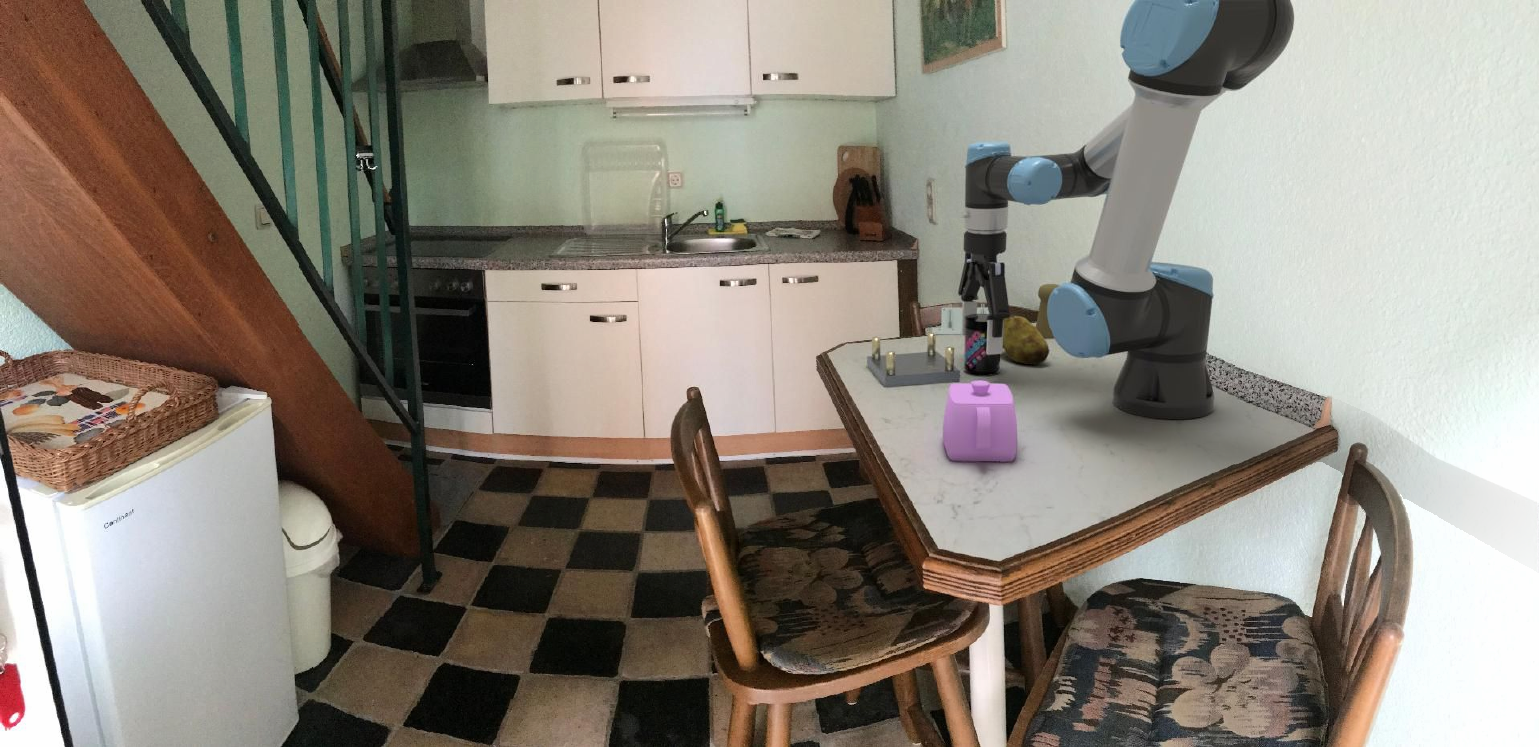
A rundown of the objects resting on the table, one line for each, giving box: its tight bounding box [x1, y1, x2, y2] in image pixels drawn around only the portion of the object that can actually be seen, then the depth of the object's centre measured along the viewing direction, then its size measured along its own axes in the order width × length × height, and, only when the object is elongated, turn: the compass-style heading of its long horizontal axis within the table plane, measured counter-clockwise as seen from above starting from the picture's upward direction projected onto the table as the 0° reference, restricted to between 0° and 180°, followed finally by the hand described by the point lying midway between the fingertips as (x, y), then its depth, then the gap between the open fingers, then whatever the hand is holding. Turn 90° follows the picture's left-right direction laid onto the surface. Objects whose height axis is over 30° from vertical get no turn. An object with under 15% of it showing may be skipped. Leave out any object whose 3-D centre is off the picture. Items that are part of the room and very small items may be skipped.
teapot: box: [942, 380, 1018, 463], centre depth 131 cm, size 18×10×10 cm, turn 171°
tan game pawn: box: [1035, 283, 1061, 340], centre depth 191 cm, size 6×6×11 cm
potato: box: [1002, 315, 1050, 365], centre depth 174 cm, size 8×13×8 cm, turn 0°
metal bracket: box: [931, 303, 989, 336], centre depth 201 cm, size 14×6×15 cm
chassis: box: [866, 332, 961, 388], centre depth 168 cm, size 14×14×6 cm
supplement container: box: [963, 314, 1002, 376], centre depth 167 cm, size 7×7×10 cm
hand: (980, 343), depth 168 cm, fingers open, 13 cm apart
